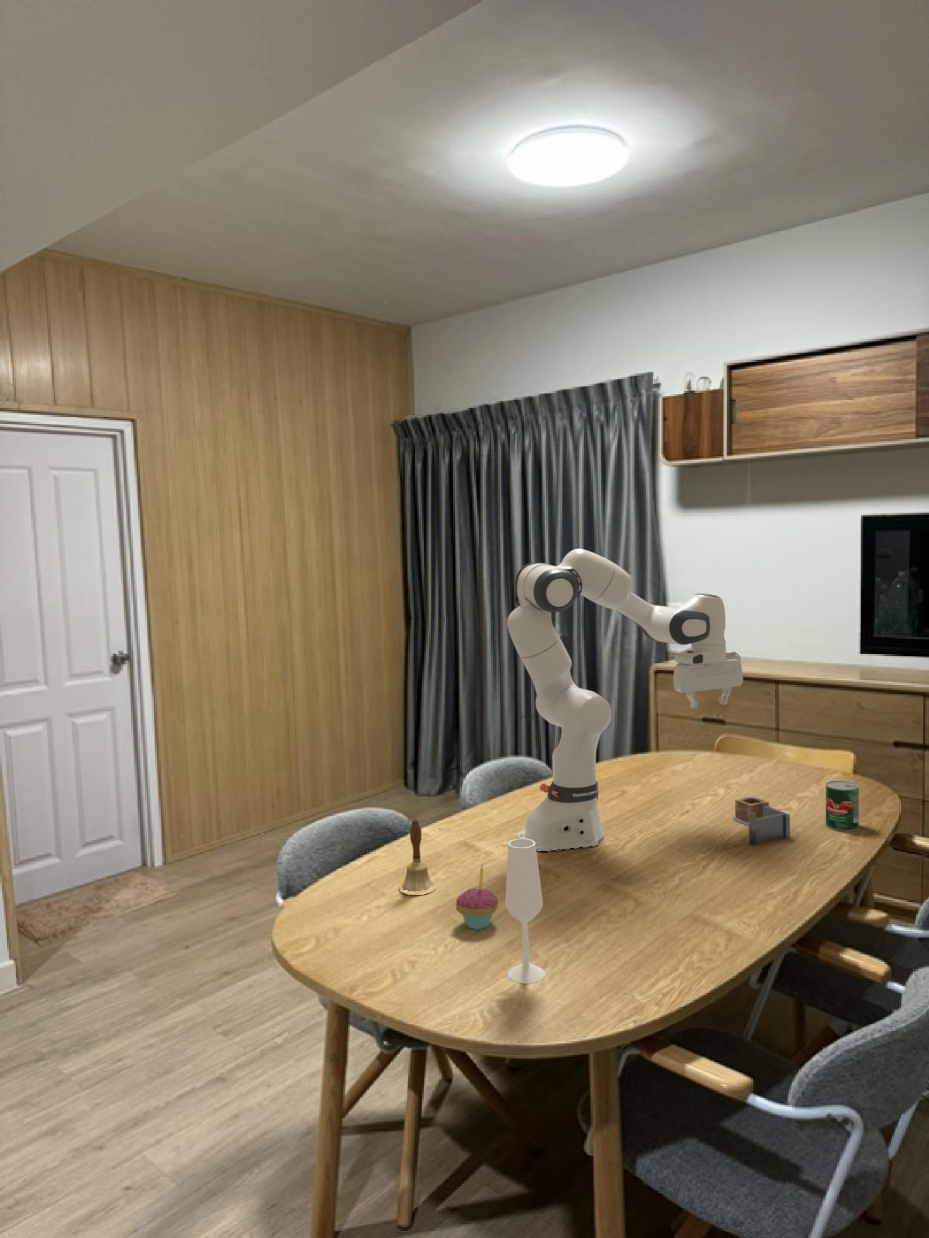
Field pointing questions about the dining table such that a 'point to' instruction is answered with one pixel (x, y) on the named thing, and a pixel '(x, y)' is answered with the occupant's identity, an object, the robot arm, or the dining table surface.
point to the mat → (741, 821)
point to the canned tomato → (842, 806)
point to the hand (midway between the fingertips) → (709, 705)
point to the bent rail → (768, 826)
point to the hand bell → (416, 864)
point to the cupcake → (477, 905)
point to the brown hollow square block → (749, 808)
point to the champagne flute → (523, 901)
